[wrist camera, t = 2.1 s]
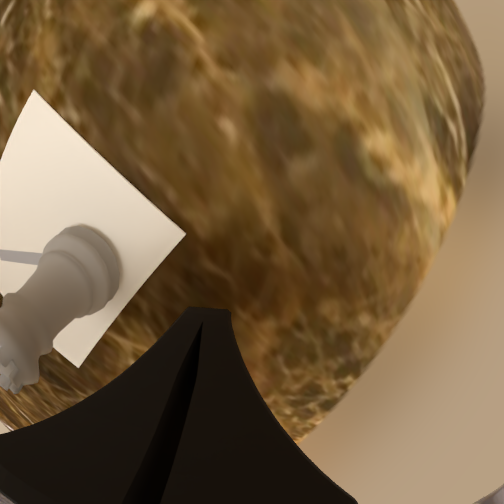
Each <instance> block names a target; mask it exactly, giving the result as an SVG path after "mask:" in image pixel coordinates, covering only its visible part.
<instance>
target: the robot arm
mask: <svg viewBox="0 0 504 504" xmlns="http://www.w3.org/2000/svg"><path fill="white" fill-rule="evenodd" d="M0 504H358V503H357V501H356V500H355V499H354V498H353V497H352V496H351V495H349V494H348V493H347V492H345V491H344V490H343V489H342V488H341V487H339V486H338V485H337V484H336V483H335V482H333V481H332V480H331V479H330V478H329V477H328V476H326V475H325V474H324V473H323V472H322V471H321V470H320V469H319V468H318V467H317V466H316V465H315V464H314V463H313V462H312V461H311V460H310V459H309V458H308V457H307V456H306V455H305V454H304V453H303V451H302V450H301V449H300V448H299V447H298V446H297V444H296V443H295V442H294V441H293V440H292V438H291V437H290V436H289V435H288V434H287V432H286V431H285V430H284V429H283V427H282V426H281V425H280V424H279V422H278V421H277V419H276V418H275V416H274V415H273V414H272V412H271V411H270V409H269V408H268V406H267V405H266V403H265V401H264V400H263V398H262V396H261V395H260V393H259V391H258V390H257V388H256V386H255V384H254V382H253V380H252V378H251V376H250V374H249V372H248V370H247V368H246V366H245V363H244V361H243V359H242V356H241V353H240V351H239V348H238V345H237V343H236V339H235V336H234V332H233V328H232V323H231V312H230V311H229V310H228V309H214V308H200V307H188V308H187V309H186V310H185V311H184V312H183V313H182V314H181V315H180V317H179V318H178V319H177V320H176V321H175V322H174V323H173V325H172V326H171V327H170V328H169V329H168V330H167V331H166V332H165V333H164V334H163V335H162V336H161V337H160V338H159V339H158V341H157V342H156V343H155V344H154V345H153V346H152V347H151V348H150V349H149V350H148V351H146V352H145V353H144V354H143V355H142V356H141V357H140V358H139V359H138V360H137V361H136V362H134V363H133V364H132V365H131V366H130V367H129V368H128V369H126V370H125V371H124V372H123V373H122V374H120V375H119V376H118V377H116V378H115V379H114V380H112V381H111V382H110V383H108V384H107V385H106V386H104V387H103V388H101V389H100V390H98V391H97V392H95V393H94V394H92V395H91V396H89V397H87V398H86V399H84V400H82V401H81V402H79V403H78V404H76V405H74V406H72V407H70V408H68V409H66V410H64V411H62V412H60V413H58V414H56V415H54V416H52V417H50V418H47V419H45V420H43V421H40V422H38V423H35V424H33V425H30V426H27V427H24V428H21V429H17V430H14V431H11V432H8V433H4V434H0ZM473 504H504V484H503V485H502V486H501V487H499V488H498V489H496V490H495V491H493V492H492V493H490V494H489V495H487V496H486V497H483V498H482V499H480V500H479V501H477V502H475V503H473Z"/></svg>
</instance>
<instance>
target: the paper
mask: <svg viewBox="0 0 504 504" xmlns="http://www.w3.org/2000/svg"><path fill="white" fill-rule="evenodd" d="M73 226H81V227H83V228H86V229H89V230H92V231H93V232H95V233H96V234H97V235H98V236H99V237H101V238H102V239H103V240H104V241H105V242H106V243H107V244H108V246H109V248H110V249H111V251H112V252H113V254H114V256H115V258H116V262H117V266H118V269H119V273H120V277H119V289H118V290H117V292H116V294H115V295H114V297H113V299H112V300H110V301H108V302H107V304H106V306H105V307H104V308H103V309H101V310H100V311H98V312H96V313H94V314H92V315H90V316H89V315H86V316H84V317H82V318H75V319H74V320H73V321H72V322H70V323H69V324H68V325H67V326H66V327H65V328H64V329H63V330H61V331H60V332H59V333H58V335H57V336H56V337H55V339H54V340H53V347H54V348H55V349H56V350H57V351H58V352H59V353H61V354H62V355H63V356H64V357H65V358H67V359H68V360H69V361H70V362H71V363H73V364H74V365H75V366H77V367H78V368H79V367H80V365H81V364H82V363H83V361H84V360H85V358H86V357H87V356H88V354H89V353H90V351H91V350H92V349H93V347H94V346H95V345H96V343H97V342H98V341H99V339H100V338H101V337H102V335H103V334H104V333H105V331H106V330H107V329H108V327H109V326H110V325H111V324H112V322H113V321H114V320H115V318H116V317H117V316H118V315H119V313H120V312H121V311H122V309H123V308H124V307H125V306H126V304H127V303H128V302H129V301H130V299H131V298H132V297H133V296H134V294H135V293H136V292H137V291H138V290H139V288H140V287H141V286H142V285H143V284H144V282H145V281H146V280H147V279H148V278H149V276H150V275H151V274H152V273H153V272H154V270H155V269H156V268H157V267H158V266H159V265H160V263H161V262H162V261H163V260H164V259H165V258H166V256H167V255H168V254H169V253H170V252H171V251H172V250H173V248H174V247H175V246H176V245H177V244H178V243H179V242H180V241H181V239H182V238H183V237H184V236H185V235H186V233H185V232H184V231H183V230H182V229H181V228H180V227H178V226H177V225H176V224H175V223H174V222H173V221H172V220H171V219H170V218H168V217H167V216H166V215H165V214H164V213H163V212H162V211H161V210H159V209H158V208H157V207H156V206H155V205H154V204H153V203H152V202H151V201H150V200H148V199H147V198H146V197H145V196H144V195H143V194H142V193H141V192H140V191H139V190H138V189H136V188H135V187H134V186H133V185H132V184H131V183H130V182H129V181H128V180H127V179H126V178H125V177H123V176H122V175H121V174H120V173H119V172H118V171H117V170H116V169H115V168H114V167H113V166H112V165H111V164H110V163H109V162H107V161H106V160H105V159H104V158H103V157H102V156H101V155H100V154H99V153H98V152H97V151H96V150H95V149H94V148H93V147H92V146H91V145H90V144H89V143H88V142H87V141H86V140H85V139H83V138H82V137H81V136H80V135H79V134H78V133H77V132H76V131H75V130H74V129H73V128H72V127H71V126H70V125H69V124H68V123H67V122H66V121H65V120H64V119H63V118H62V117H61V116H60V115H59V114H58V113H57V112H56V111H55V110H54V109H53V108H52V107H51V106H50V105H49V104H48V103H47V102H46V101H45V100H44V99H43V98H42V97H41V96H40V95H39V94H38V92H37V91H36V90H33V92H32V94H31V95H30V97H29V99H28V101H27V103H26V105H25V107H24V108H23V110H22V112H21V114H20V116H19V118H18V120H17V123H16V125H15V127H14V129H13V131H12V133H11V136H10V138H9V140H8V143H7V145H6V148H5V150H4V153H3V155H2V158H1V161H0V293H1V294H2V295H3V297H4V296H5V295H6V294H7V293H16V292H17V291H18V290H19V289H20V288H22V286H23V285H24V284H25V283H26V281H27V280H28V279H29V278H30V277H31V276H32V274H33V273H34V272H35V271H36V269H37V266H38V263H39V259H40V258H41V256H42V253H43V250H44V247H45V246H46V244H47V243H48V242H49V241H50V240H51V239H52V238H53V237H54V236H56V235H58V234H59V233H60V232H61V231H62V230H63V229H64V228H67V227H73Z"/></svg>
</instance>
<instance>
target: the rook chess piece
mask: <svg viewBox="0 0 504 504" xmlns="http://www.w3.org/2000/svg"><path fill="white" fill-rule="evenodd" d="M119 277H120V273H119V269H118V266H117V262H116V258H115V256H114V254H113V252H112V251H111V249H110V248H109V246H108V244H107V243H106V242H105V241H104V240H103V239H102V238H101V237H99V236H98V235H97V234H96V233H95V232H93V231H92V230H89V229H86V228H83V227H81V226H73V227H67V228H64V229H63V230H62V231H61V232H60V233H59V234H58V235H56V236H54V237H53V238H52V239H51V240H50V241H49V242H48V243H47V244H46V246H45V247H44V250H43V253H42V256H41V258H40V259H39V263H38V266H37V269H36V271H35V272H34V273H33V274H32V276H31V277H30V278H29V279H28V280H27V281H26V283H25V284H24V285H23V286H22V288H20V289H19V290H18V291H17V292H16V293H7V294H6V295H5V296H4V297H3V304H2V307H1V308H0V373H1V375H0V386H1V387H3V388H4V389H5V390H8V389H10V390H11V391H12V392H13V393H14V394H17V393H19V391H20V390H21V388H22V387H23V385H28V384H33V383H37V382H38V380H39V364H38V359H39V357H40V356H41V355H45V354H48V353H50V352H51V351H52V347H53V340H54V339H55V337H56V336H57V335H58V333H59V332H60V331H61V330H63V329H64V328H65V327H66V326H67V325H68V324H69V323H70V322H72V321H73V320H74V319H75V318H82V317H84V316H86V315H89V316H90V315H92V314H94V313H96V312H98V311H100V310H101V309H103V308H104V307H105V306H106V304H107V302H108V301H110V300H112V299H113V297H114V295H115V294H116V292H117V290H118V289H119Z"/></svg>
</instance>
